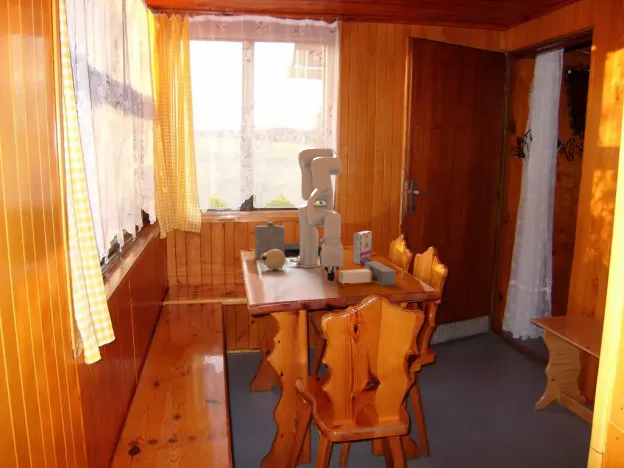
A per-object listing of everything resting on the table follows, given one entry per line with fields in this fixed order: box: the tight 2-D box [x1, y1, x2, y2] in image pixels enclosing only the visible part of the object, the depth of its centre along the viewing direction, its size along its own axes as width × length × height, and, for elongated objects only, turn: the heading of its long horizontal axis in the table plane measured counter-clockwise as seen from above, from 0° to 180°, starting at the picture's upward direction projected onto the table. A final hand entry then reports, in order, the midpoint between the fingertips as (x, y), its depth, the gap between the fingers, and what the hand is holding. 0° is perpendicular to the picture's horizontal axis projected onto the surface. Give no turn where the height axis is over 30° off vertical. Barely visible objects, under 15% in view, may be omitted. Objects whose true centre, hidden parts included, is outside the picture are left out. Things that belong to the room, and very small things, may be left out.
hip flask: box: [254, 221, 286, 260], centre depth 275 cm, size 16×4×20 cm, turn 91°
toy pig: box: [260, 249, 286, 272], centre depth 249 cm, size 10×12×11 cm
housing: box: [364, 260, 397, 287], centre depth 235 cm, size 6×20×6 cm, turn 19°
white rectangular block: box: [338, 268, 373, 285], centre depth 231 cm, size 14×5×5 cm, turn 108°
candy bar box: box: [352, 230, 373, 266], centre depth 269 cm, size 11×5×16 cm, turn 143°
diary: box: [284, 242, 322, 258], centre depth 292 cm, size 19×25×5 cm
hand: (330, 280), depth 228 cm, fingers closed
